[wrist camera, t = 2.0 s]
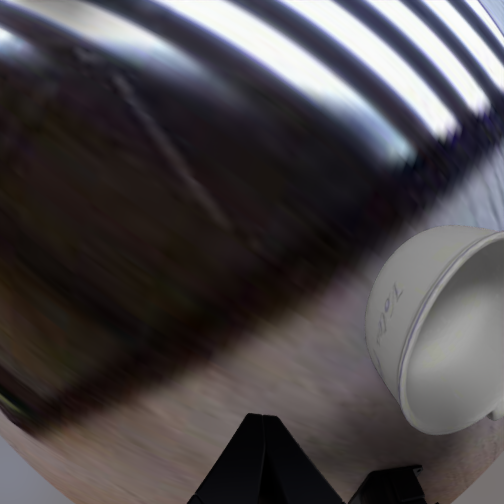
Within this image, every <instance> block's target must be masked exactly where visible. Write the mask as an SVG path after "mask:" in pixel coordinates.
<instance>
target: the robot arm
mask: <svg viewBox="0 0 504 504" xmlns="http://www.w3.org/2000/svg"><path fill="white" fill-rule="evenodd" d="M422 470H423V467H422V465H418V466H413V467H407V468H400V469H393V470H385V471H377V472H372V473H370V474H369V475H368V476H367V478H366V479H365V481H364V482H363V483H362V485H361V486H360V488H359V489H358V490H357V492H356V493H355V494H354V496H353V497H352V498H351V500H350V501H349V502H348V504H427V503H426V501H425V498H424V497H425V494H424V492H423V490H422V488H421V486H420V483H419V481H418V479H417V477H418V475H419V474H420V473H421V471H422ZM187 504H346V503H345V502H342V498H341V497H340V496H339V495H338V494H337V492H336V491H335V490H334V489H333V488H332V486H331V485H330V484H329V483H328V481H327V480H326V479H325V478H324V477H323V475H322V474H321V473H320V472H319V470H318V469H317V468H316V466H315V465H314V464H313V463H312V461H311V460H310V459H309V457H308V456H307V455H306V454H305V452H304V451H303V450H302V448H301V447H300V446H299V444H298V443H297V442H296V440H295V439H294V438H293V436H292V435H291V434H290V432H289V431H288V430H287V428H286V427H285V426H284V424H283V423H282V422H281V420H280V419H279V418H278V417H277V416H272V415H263V416H262V415H261V414H254V413H248V414H247V415H246V416H245V418H244V420H243V421H242V423H241V424H240V426H239V428H238V429H237V431H236V432H235V434H234V435H233V437H232V439H231V440H230V442H229V443H228V445H227V446H226V448H225V449H224V451H223V452H222V454H221V455H220V457H219V458H218V460H217V461H216V463H215V464H214V466H213V467H212V469H211V470H210V472H209V473H208V475H207V476H206V478H205V479H204V480H203V482H202V483H201V485H200V486H199V488H198V489H197V490H196V492H195V495H193V496H192V497H191V498H190V500H189V501H188V502H187ZM435 504H439V503H438V502H437V503H435Z"/></svg>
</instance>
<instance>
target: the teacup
mask: <svg viewBox="0 0 504 504" xmlns="http://www.w3.org/2000/svg"><path fill="white" fill-rule="evenodd" d="M365 335H366V343H367V347H368V350H369V354H370V357H371V359H372V361H373V364H374V366H375V367H376V369H377V371H378V373H379V375H380V376H381V378H382V380H383V381H384V383H385V384H386V386H387V388H388V389H389V390H390V392H391V393H392V395H393V396H394V398H395V399H396V400H397V402H398V403H399V405H400V408H401V410H402V413H403V415H404V417H405V418H406V420H407V421H408V422H409V423H410V424H411V426H413V427H415V428H416V429H418V430H419V431H420V432H424V433H426V434H430V435H445V434H450V433H454V432H458V431H460V430H462V429H465V428H467V427H469V426H471V425H473V424H475V423H476V422H478V421H480V420H481V419H482V418H484V417H485V416H487V417H488V418H489V419H491V420H493V421H497V420H499V419H500V418H502V417H503V416H504V231H495V230H490V229H484V228H477V227H470V226H460V225H449V226H440V227H435V228H432V229H429V230H426V231H423V232H421V233H419V234H417V235H415V236H414V237H412V238H410V239H409V240H407V241H406V242H405V243H404V244H402V245H401V246H400V247H399V248H398V249H397V250H396V251H395V252H394V253H393V254H392V256H391V257H390V258H389V259H388V260H387V262H386V263H385V265H384V266H383V268H382V269H381V271H380V272H379V274H378V276H377V278H376V281H375V283H374V285H373V287H372V290H371V293H370V295H369V299H368V303H367V308H366V314H365Z"/></svg>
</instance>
